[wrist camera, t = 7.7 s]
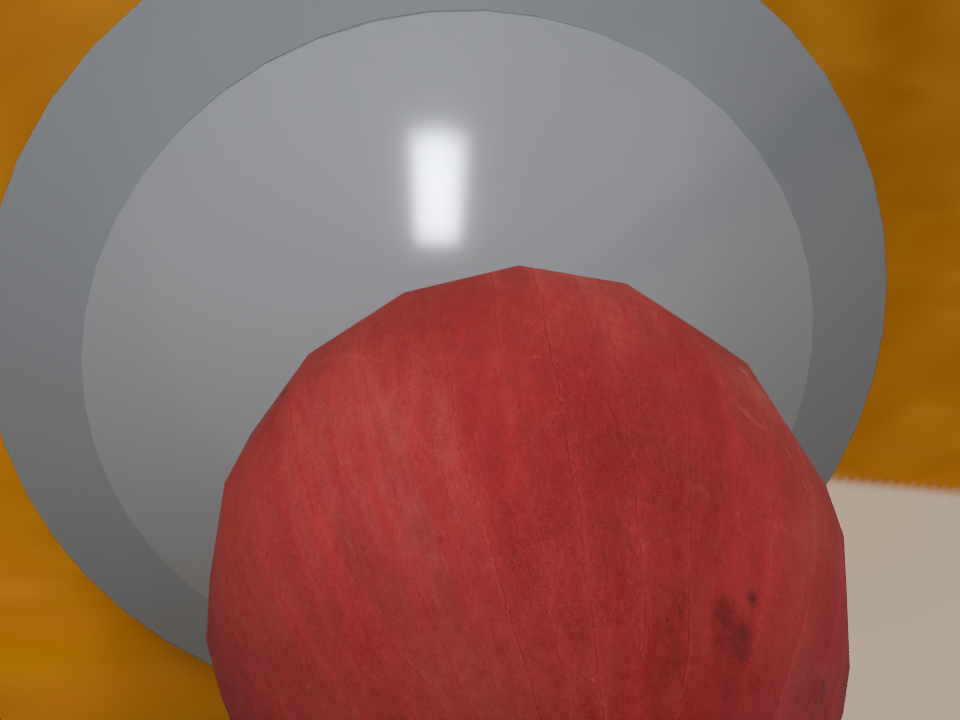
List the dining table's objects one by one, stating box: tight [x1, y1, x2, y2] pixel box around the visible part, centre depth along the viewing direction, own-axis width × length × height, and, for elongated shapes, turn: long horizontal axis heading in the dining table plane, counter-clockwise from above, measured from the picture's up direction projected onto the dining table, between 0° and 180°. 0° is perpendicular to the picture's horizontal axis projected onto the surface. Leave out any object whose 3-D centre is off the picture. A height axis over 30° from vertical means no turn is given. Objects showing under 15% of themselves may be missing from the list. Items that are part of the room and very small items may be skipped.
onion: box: [206, 265, 849, 720], centre depth 9 cm, size 6×6×8 cm
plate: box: [0, 0, 887, 666], centre depth 13 cm, size 12×12×2 cm
